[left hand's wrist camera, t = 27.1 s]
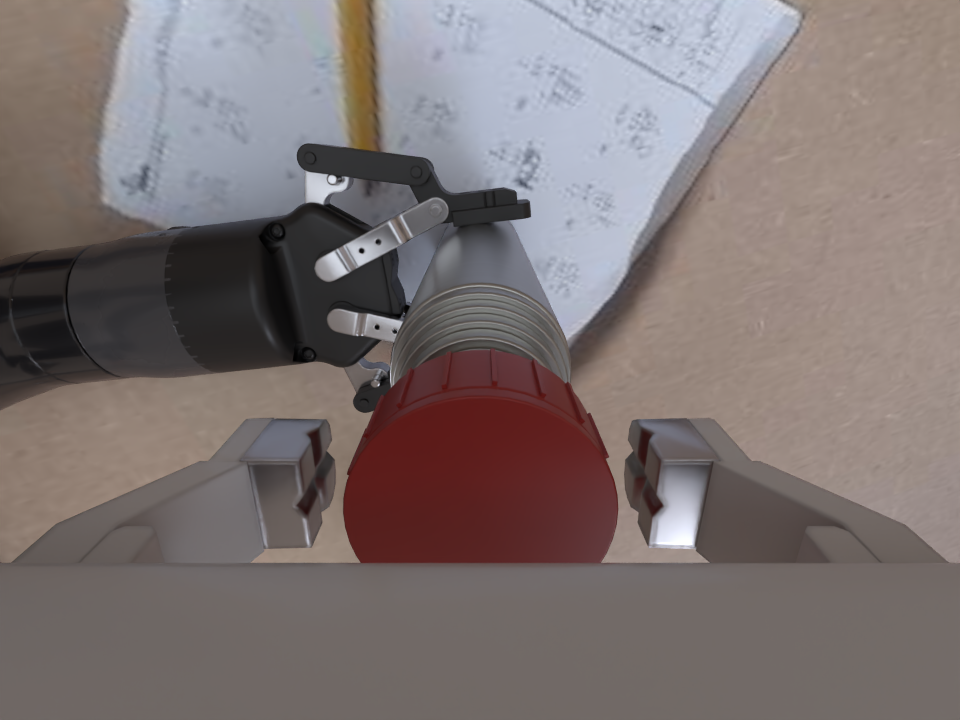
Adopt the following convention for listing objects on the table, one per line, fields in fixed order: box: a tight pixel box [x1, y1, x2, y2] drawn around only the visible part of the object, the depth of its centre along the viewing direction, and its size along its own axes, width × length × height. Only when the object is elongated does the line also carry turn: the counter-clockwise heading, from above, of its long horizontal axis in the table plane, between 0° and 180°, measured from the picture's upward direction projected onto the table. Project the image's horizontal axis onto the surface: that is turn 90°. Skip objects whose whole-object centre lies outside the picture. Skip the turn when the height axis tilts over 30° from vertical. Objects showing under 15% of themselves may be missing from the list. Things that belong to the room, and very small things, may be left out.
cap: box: [343, 348, 618, 563], centre depth 9 cm, size 4×4×2 cm
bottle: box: [390, 221, 571, 387], centre depth 20 cm, size 5×5×24 cm
